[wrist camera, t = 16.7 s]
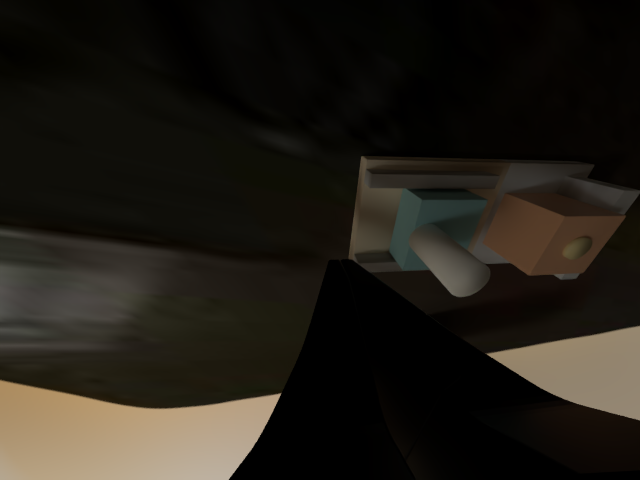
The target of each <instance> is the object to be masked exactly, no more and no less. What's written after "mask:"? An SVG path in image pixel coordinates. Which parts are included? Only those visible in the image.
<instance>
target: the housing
mask: <svg viewBox="0 0 640 480" xmlns="http://www.w3.org/2000/svg"><path fill="white" fill-rule="evenodd" d="M625 217H626V216H625V215H622V214H619V213H616V212H613V211H609V210H606V209H603V208H600V207H597V206H594V205H591V204H587V203H584V202H581V201H578V200H575V199H572V198H568V197H565V196H562V195H559V194H556V193H505V194H504V196H503V199H502V201H501V203H500V205H499V207H498V210H497V212H496V214H495V216H494V218H493V221H492V223H491V225H490V227H489V229H488V232H487V234H486V236H485V238H484V241H483V244H484V245H486V246H487V247H489V248H490V249H491V250H493V251H494V252H496V253H497V254H499V255H500V256H502V257H503V258H504V259H506V260H507V261H509V262H510V263H512V264H513V265H515V266H516V267H517V268H519V269H520V270H522V271H523V272H525V273H526V274H528V275H550V274H572V273H584V271H585V270H586V269H587V267H588V266H589V265H590V263H591V262H592V261H593V259H594V258H595V257H596V256H597V254H598V253H599V252H600V250H601V249H602V248H603V246H604V245H605V244H606V242H607V241H608V240H609V238H610V237H611V236H612V234H613V233H614V232H615V230H616V229H617V228H618V226H619V225H620V224H621V223H622V221H623V220H624V219H625Z"/></svg>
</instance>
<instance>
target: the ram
mask: <svg viewBox="0 0 640 480" xmlns="http://www.w3.org/2000/svg"><path fill="white" fill-rule="evenodd" d="M487 201H488V200H487V199H485V198H483V197H481V196H479V195H476V194H474V193H472V192H470V191H468V190H465V189H411V188H403V190H402V194H401V199H400V203H399V208H398V212H397V217H396V221H395V226H394V230H393V234H392V239H391V243H390V248H389V252H390V253H391V255H392V256H393V257H394V259H395V260H396V262H397V263H398V264H399V266H400V267H401V269H402V270H403V271H405V270H429V269H430V270H431V271H432V272H433V274H434V275H435V276H436V277H437V278H438V279H439V280H440V281H441V283H442V284H443V285H444V286H445V287H446V288H447V289H448V291H449V292H450V293H451V294H452V295H454V296H457V297H465V296H469V295H472V294H474V293H476V292H478V291H479V290H480V289H482V288H483V287H484V286H485V285H486V283H487V282H488V280H489V278H490V269H489V268H488V266H486V265H485V264H484V263H482V262H481V261H480V260H479V259H477V258H476V257H475V256H474V255H472V254H471V253H470V252H469V251H467V249H468V246H469V244H470V242H471V239H472V237H473V235H474V232H475V230H476V227H477V225H478V223H479V220H480V218H481V216H482V213H483V211H484V208H485V206H486V204H487Z"/></svg>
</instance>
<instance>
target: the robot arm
mask: <svg viewBox="0 0 640 480" xmlns="http://www.w3.org/2000/svg"><path fill="white" fill-rule="evenodd" d="M229 480H640V421H639V420H636V419H632V418H628V417H624V416H620V415H617V414H612V413H609V412H605V411H601V410H597V409H594V408H590V407H586V406H583V405H579V404H576V403H573V402H570V401H568V400H564V399H562V398H560V397H558V396H555V395H553V394H551V393H549V392H547V391H545V390H543V389H541V388H539V387H538V386H536V385H534V384H533V383H531V382H529V381H528V380H526V379H525V378H523V377H521V376H520V375H518V374H517V373H515V372H514V371H512V370H510V369H509V368H507V367H506V366H504V365H503V364H501V363H499V362H498V361H496V360H495V359H493V358H491V357H490V356H488V355H487V354H485V353H483V352H482V351H480V350H479V349H477V348H476V347H474V346H472V345H471V344H469V343H468V342H466V341H465V340H463V339H462V338H460V337H459V336H457V335H456V334H454V333H453V332H451V331H450V330H449V329H447V328H446V327H444V326H443V325H441V324H440V323H439V322H437V321H436V320H434V319H433V318H432V317H430V316H429V315H426V313H425V312H423V311H422V310H421V309H419V308H418V307H417V306H415V305H414V304H412V303H411V302H410V301H408V300H407V299H406V298H404V297H403V296H401V295H400V294H399V293H397V292H396V291H395V290H393V289H392V288H391V287H389V286H388V285H386V284H385V283H384V282H382V281H381V280H380V279H378V278H377V277H375V276H374V275H373V274H371V273H370V272H369V271H367V270H366V269H365V268H363V267H362V266H360V265H359V264H358V263H356V262H355V261H354V260H352V259H342V260H341V261H340V260H329V262H328V265H327V269H326V272H325V275H324V279H323V282H322V286H321V289H320V292H319V296H318V299H317V303H316V306H315V309H314V313H313V316H312V319H311V323H310V326H309V329H308V332H307V335H306V338H305V341H304V344H303V347H302V350H301V352H300V354H299V357H298V359H297V361H296V364H295V366H294V368H293V370H292V372H291V374H290V377H289V379H288V381H287V383H286V385H285V387H284V389H283V391H282V393H281V396H280V398H279V400H278V402H277V404H276V406H275V408H274V411H273V413H272V414H271V416H270V418H269V420H268V422H267V424H266V426H265V428H264V430H263V432H262V433H261V435H260V437H259V439H258V441H257V442H256V443H255V445H254V447H253V448H252V450H251V451H250V452H249V454H248V455H247V456H246V458H245V459H244V460H243V462H242V463H241V464H240V465H239V467H238V468H237V469H236V471H235V472H234V473H233V475H232V476H231V477H230V479H229Z"/></svg>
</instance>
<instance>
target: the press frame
mask: <svg viewBox="0 0 640 480" xmlns="http://www.w3.org/2000/svg"><path fill="white" fill-rule="evenodd" d="M594 166H595V165H593V164H588V163H583V162H577V161H545V160H505V159H464V158H424V157H384V156H361V164H360V172H359V180H358V188H357V196H356V204H355V212H354V220H353V228H352V236H351V244H350V252H349V259H352V260H354V261H355V262H356V263H358V264H359V265H360V266H362V267H363V268H365V269H366V270H367V271H369V272H389V271H403V270H402V269H401V267H400V266H399V264H398V263H397V262H396V260H395V259H394V257H393V256H392V255H391V253H390V252H389V248H390V243H391V239H392V234H393V230H394V226H395V221H396V217H397V212H398V208H399V203H400V199H401V194H402V190H403V188H411V189H465V190H468V191H470V192H472V193H474V194H476V195H479V196H481V197H483V198H485V199H487V200H488V201H487V204H486V206H485V208H484V211H483V213H482V216H481V218H480V220H479V223H478V225H477V227H476V230H475V232H474V235H473V237H472V239H471V242H470V244H469V246H468V249H467V251H469V252H470V253H471V254H472V255H474V256H475V257H476V258H477V259H479V260H480V261H481V262H482V263H484V264H493V263H510V262H509V261H507V260H506V259H504V258H503V257H502V256H500V255H499V254H497V253H496V252H494V251H493V250H491V249H490V248H489V247H487V246H486V245H484V244H483V241H484V238H485V236H486V234H487V232H488V229H489V227H490V225H491V223H492V221H493V218H494V216H495V214H496V212H497V210H498V207H499V205H500V203H501V201H502V199H503V196H504V194H505V193H556V194H559V195H562V196H565V197H568V198H572V199H575V200H578V201H581V202H584V203H587V204H591V205H594V206H597V207H600V208H603V209H606V210H609V211H613V212H616V213H619V214H622V215H624V214H625V213H626V211H627V210H628V209H629V207H630V206H631V205H632V203H633V202H634V201H635V199H636V198H637V197H638V195H639V194H640V190H636V189H632V188H628V187H623V186H619V185H615V184H610V183H606V182H602V181H598V180H593V179H589V178H587V177H588V175H589V174H590V172H591V171H592V169H593V167H594ZM429 270H430V269H429ZM405 271H414V270H405ZM579 274H580V273H572V274H553V275H555V276H556V277H558V278H560V279H561V280H562V279H576V278H577V276H578V275H579Z"/></svg>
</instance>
